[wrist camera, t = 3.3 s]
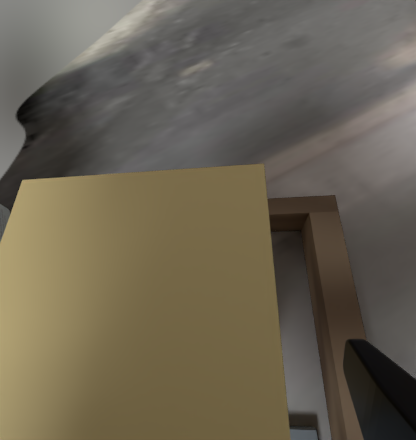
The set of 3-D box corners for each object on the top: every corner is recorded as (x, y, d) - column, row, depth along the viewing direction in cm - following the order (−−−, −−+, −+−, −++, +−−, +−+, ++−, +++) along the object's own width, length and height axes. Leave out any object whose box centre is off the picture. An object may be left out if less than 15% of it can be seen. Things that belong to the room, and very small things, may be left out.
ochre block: (257, 388, 14) (299, 531, 3) (161, 385, 14) (-89, 497, 4) (251, 288, 16) (264, 163, 5) (168, 289, 17) (22, 180, 6)
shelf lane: (369, 456, 12) (397, 481, 10) (66, 440, 14) (31, 458, 12) (323, 214, 17) (335, 195, 15) (105, 224, 19) (86, 208, 17)
